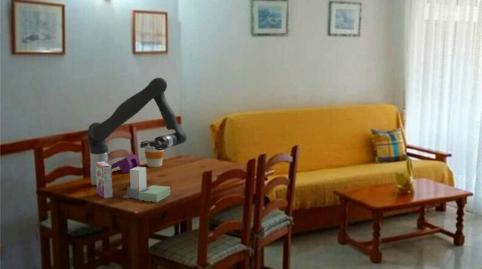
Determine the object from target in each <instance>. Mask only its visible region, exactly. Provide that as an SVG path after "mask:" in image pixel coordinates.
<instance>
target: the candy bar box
mask: <svg viewBox="0 0 482 269" xmlns="http://www.w3.org/2000/svg"><path fill="white" fill-rule="evenodd" d="M95 166H96V183H97V185H96V194H97V195H99V196H100V197H101V198H103V199H104V200H105V199H111V198H113V197H114V194H113V173H112V171H113V170H112V168H111V164H109V163H108V164H107V163H106V162H96V163H95Z"/></svg>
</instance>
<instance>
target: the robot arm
mask: <svg viewBox="0 0 482 269" xmlns="http://www.w3.org/2000/svg"><path fill="white" fill-rule="evenodd" d="M167 87H168V83H167V80H165V79H164V78H162V77H155V78H153V79H152V80H151V81H149V83H148V85H147V86H145V87H144V88H143V89H142V90H141V91H139V92H137V93H134V94H133V95H132V96H130V97H128V98H127V99H126V100H124V101H123V102H122V103H120V104H119V105H118V106H117V108H116V109H115V110H114V112H112V115H111V116H109V117H108V118H107V119H105V120H104V121H103V122H92V123H91V124H90V125H89V127H88V129H87V138H88V148H89V151H90V152H89V153H90V155H89V156H90V184H91V186H92V185H93V186H97V183H96V166H95V163H96V162H106V163H107V164H109V148H108V146H107V144H106V139H107V138H109V137H110V136H111V135H112V134H113V133H114V132H115V131H116V130H117V129H118V128H119V127H120V126H121V125H123V124H125V123H126V122H128V121H129V120H130V119H132V118H133V117H135V115H137V114H138V113H139V112H140V111H141V110H142V109H143V108H144V107H146V106H147V104H148V103H149V102H151V101H152V100H153V99H154V101H155V104H156V107H158V110H159V112H160V115H161V117H162V120H163V122H164V123H163V124H164V125H165V127H166V129H167V130H168V131H171V130H174V131H175V132H173V133H168V134H164V135H159V136H157V137H155V138H153V141H150V140H144V141H141V142H140V144H139V148H140V149H143V148H144V149H145V147H148V148H155V149H156V150H164V151H165V150H166V149H169V148H171V147H176V146H178V145H181V144H183V143H186V141H187V134H186V132H185V131H184V130H183V129H182V127H181V125H180V124H179V123H178V122H179V121H178V119H177V117H176V115H175V113H174V110H173V109H172V108H171V106H170V105H169V103H168V101H167V99H166V96H165V92H166V90H167V89H168V88H167ZM150 145H151V146H150Z"/></svg>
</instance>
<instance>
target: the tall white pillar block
mask: <svg viewBox="0 0 482 269" xmlns="http://www.w3.org/2000/svg"><path fill="white" fill-rule="evenodd" d="M129 177H130V178H129V181H130V185H129V186H131V189H136V190H137V197H139V193H138V192H140V191H142V190H144V189H146V188H148V186H147V167H145V166H139V167H135V168H133V169H130V172H129Z"/></svg>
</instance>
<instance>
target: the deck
mask: <svg viewBox="0 0 482 269" xmlns="http://www.w3.org/2000/svg"><path fill="white" fill-rule="evenodd" d="M138 193H139V197H137V190H136V189H131V186H130V185H129V186H127V187H126V194H125V195H122V197H123V199H129V198H132V199H131V200H138V199H139V200H138V201H142V200H144V202H145V201H146V202H151V201H152V202H153V203H158V202H159V201H161V200H163V199H166V198H167V197H168V196H171V186H164V185H163V186H162V185H153V184H152V185H150V186H147V188H146V189H144V190H142V191H140V192H138ZM152 202H151V203H152Z"/></svg>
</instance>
